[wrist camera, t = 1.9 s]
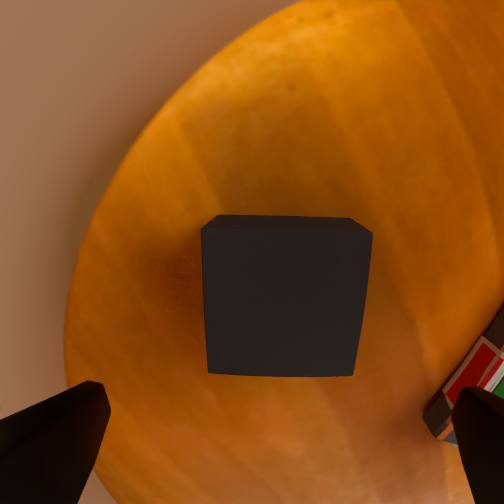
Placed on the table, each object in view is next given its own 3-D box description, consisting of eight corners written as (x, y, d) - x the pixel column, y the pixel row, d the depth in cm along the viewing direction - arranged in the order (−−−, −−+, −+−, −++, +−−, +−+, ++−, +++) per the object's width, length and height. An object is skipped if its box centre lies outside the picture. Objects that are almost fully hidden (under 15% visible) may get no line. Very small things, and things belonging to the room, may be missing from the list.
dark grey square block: (220, 334, 16) (207, 373, 13) (217, 214, 15) (200, 228, 11) (339, 337, 16) (353, 376, 13) (351, 217, 14) (373, 232, 11)
